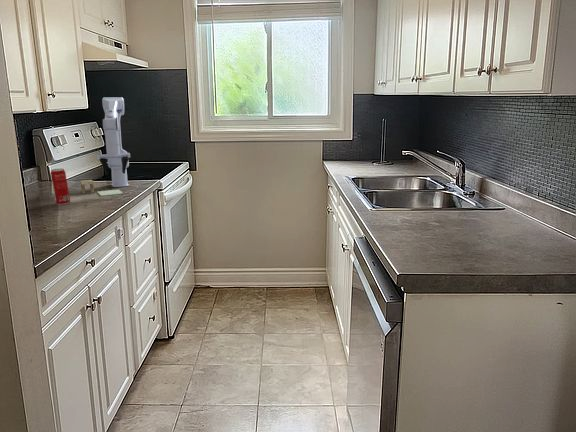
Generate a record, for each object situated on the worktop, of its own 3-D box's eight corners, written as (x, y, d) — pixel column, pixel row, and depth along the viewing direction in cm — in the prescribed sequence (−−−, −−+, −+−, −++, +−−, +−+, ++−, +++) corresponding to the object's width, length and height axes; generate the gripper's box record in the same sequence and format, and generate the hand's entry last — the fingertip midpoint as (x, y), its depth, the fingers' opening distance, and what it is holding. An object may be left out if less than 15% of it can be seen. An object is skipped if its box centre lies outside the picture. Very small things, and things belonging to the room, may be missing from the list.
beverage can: (72, 202, 217) (69, 168, 213) (64, 205, 211) (60, 170, 207) (59, 201, 218) (55, 167, 214) (51, 205, 211) (47, 170, 208)
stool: (81, 192, 238) (80, 180, 237) (92, 191, 241) (91, 179, 239) (83, 193, 234) (81, 182, 233) (94, 192, 236) (93, 181, 235)
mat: (97, 192, 237) (97, 191, 237) (118, 190, 242) (118, 189, 242) (100, 196, 229) (100, 195, 229) (123, 193, 234) (122, 193, 234)
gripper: (97, 146, 220) (100, 176, 223) (130, 144, 227) (133, 173, 230) (94, 144, 226) (97, 174, 229) (127, 143, 233) (129, 171, 236)
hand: (115, 173), depth 230 cm, fingers open, 7 cm apart
